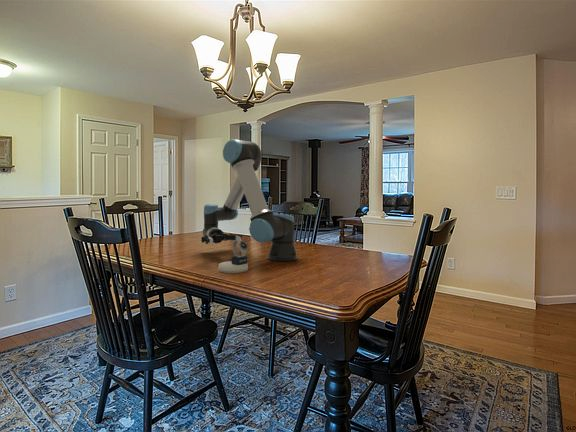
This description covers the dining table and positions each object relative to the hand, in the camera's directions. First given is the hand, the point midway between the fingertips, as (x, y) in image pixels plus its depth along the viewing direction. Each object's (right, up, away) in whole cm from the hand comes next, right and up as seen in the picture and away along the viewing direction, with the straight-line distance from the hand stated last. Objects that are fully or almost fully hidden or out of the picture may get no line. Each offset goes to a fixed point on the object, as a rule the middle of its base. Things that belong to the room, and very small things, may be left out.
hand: (226, 241), depth 172 cm
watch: (+7, -10, -7) cm, 14 cm away
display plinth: (+4, -12, -8) cm, 15 cm away
